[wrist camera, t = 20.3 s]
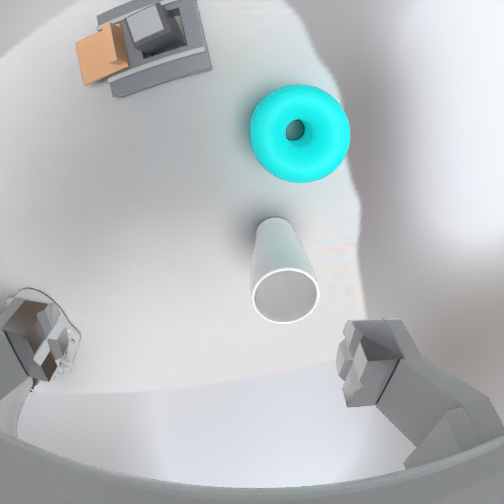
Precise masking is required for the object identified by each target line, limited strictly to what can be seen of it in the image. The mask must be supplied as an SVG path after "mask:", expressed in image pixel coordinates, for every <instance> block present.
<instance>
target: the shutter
mask: <svg viewBox="0 0 504 504" xmlns="http://www.w3.org/2000/svg"><path fill="white" fill-rule="evenodd" d="M76 48H77V54H78V59H79V65H80V70H81V75H82V79H83V84H84V86H87V85H90V84H92V83H94V82H96V81H98V80H101V79H103V78H105V77H108V76H110V75H112V74H115V73H117V72H120V71H122V70H125V69H127V68H130V63H129V58H128V54H127V49H126V44H125V39H124V34H123V29H122V24H120V23H118V24H116V25H115V24H113V23H110V22H109V23H107V24H104V25H102V31H100V32H98V33H96V34H94V35H91V36H89V37H87V38H85V39H83V40H81V41H79V42H78V43H76Z"/></svg>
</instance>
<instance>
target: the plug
mask: <svg viewBox="0 0 504 504" xmlns="http://www.w3.org/2000/svg"><path fill="white" fill-rule="evenodd" d="M124 20H125V23H126V26H127V29H128V32H129V35H130V37H131V40H132V43H133V46H134V48H136V49H138V50H140V51H143V52H145V53H148V54H150V55H152V56H155V55H158V54H161V53H164V52H167V51H170V50H174V49H176V48H179V47H181V46H184V45H186V44H185V42H184V39H183V36H182V34H181V31H180V28H179V25H178V23H177V20H176V19H175V18H174V17H173V16H172V14H171V13H170V12H169V11H168V10H167V9H166V8H165V7H164V6H163V5H162V4H161V3H160V2H158V3H155V4H153V5H151V6H149V7H146V8H144V9H142V10H140V11H138V12H136V13H134V14H132V15H130V16H128V17H126V18H124Z"/></svg>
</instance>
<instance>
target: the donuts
mask: <svg viewBox="0 0 504 504" xmlns="http://www.w3.org/2000/svg"><path fill="white" fill-rule="evenodd" d="M298 119H300V120H301V121H302V122H303V124H304V127H305V132H304V134H303V136H302V137H301V138H300V139H298V140H294V141H291V140H288V139H287V138H286V128H287V126H288V124H289V123H291V122H292V121H294V120H298ZM250 141H251V146H252V149H253V151H254V154H255V156H256V158H257V159H258V161H259V162H260V163H261V165H262V166H263V167H264V168H265V169H266V170H267V171H269V172H270V173H271V174H273V175H274V176H276V177H278V178H280V179H283V180H286V181H289V182H296V183H306V182H312V181H316V180H319V179H322V178H324V177H326V176H327V175H329V174H330V173H332V172H333V171H334V170H335V169H336V168H337V167H338V166H339V165H340V164H341V162H342V161H343V159H344V158H345V156H346V154H347V151H348V148H349V144H350V126H349V122H348V119H347V116H346V114H345V112H344V110H343V108H342V107H341V105H340V104H339V103H338V102H337V101H336V100H335V99H334V98H333V97H332V96H331V95H330V94H328V93H327V92H325V91H323V90H321V89H319V88H316V87H313V86H308V85H290V86H286V87H282V88H280V89H277V90H275V91H274V92H272V93H270V94H268V95H267V96H265V97H264V98H263V99H262V100H261V101H260V102H259V103H258V104H257V106H256V107H255V109H254V111H253V113H252V116H251V120H250Z"/></svg>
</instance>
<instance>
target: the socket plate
mask: <svg viewBox="0 0 504 504" xmlns="http://www.w3.org/2000/svg"><path fill="white" fill-rule="evenodd" d="M158 2H160V3H161V4H162V5H163V6H164V7H165V8H166V9H167V10H168V11H169V12H170V13H171V14H172V16H173V17H174V16H178V15H181V19H182V23H183V27H184V32H185V36H186V41H187V46H184V47H180V48H177V49H174V50H170V51H167V52H164V53H161V54H158V55H155V56H152V57H150V55H149V54H148V53H145V52H143V51H140V50H138V49H136V48H134V46H133V43H132V40H131V37H130V35H129V32H128V29H127V26H126V23H125V20H124V18H126V17H128V16H130V15H132V14H134V13H136V12H138V11H140V10H142V9H144V8H146V7H149V6H151V5H153V4H155V3H158ZM97 20H98V27H97V31H99V32H100V31H102V25H104V24H107V23H109V22H110V23H113V24H115V25H116V24H118V23H120V24H122V29H123V34H124V39H125V44H126V49H127V54H128V58H129V63H130V68H127V69H125V70H122V71H120V72H117V73H115V74H112V75H110V76H108V77H109V78H108V79H107V81H108V83H110V85H111V90H112V94H113V97H124V96H127V95H130V94H132V93H135V92H138V91H141V90H144V89H147V88H150V87H152V86H156V85H159V84H162V83H165V82H168V81H171V80H175V79H178V78H181V77H185V76H188V75H192V74H196V73H200V72H203V71H207V70H211V69H212V67H211V63H210V58H209V54H208V50H207V46H206V41H205V37H204V33H203V29H202V24H201V20H200V16H199V12H198V7H197V3H196V0H133V1H130V2H127V3H125V4H123V5H120V6H118V7H115V8H113V9H111V10H109V11H106V12H104V13H102V14H100V15H98V16H97Z"/></svg>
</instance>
